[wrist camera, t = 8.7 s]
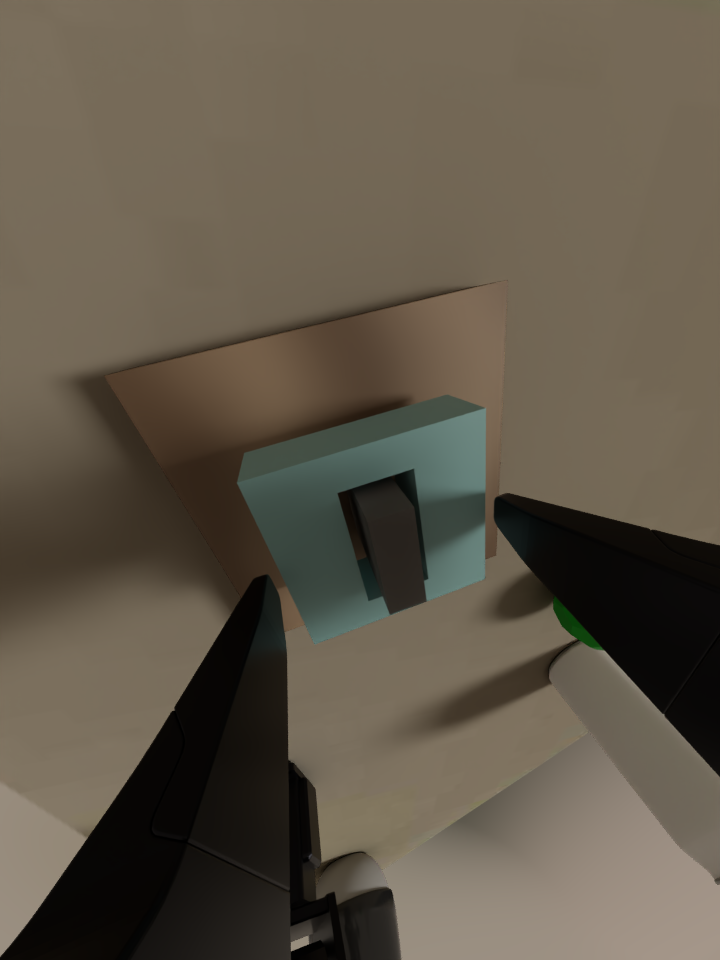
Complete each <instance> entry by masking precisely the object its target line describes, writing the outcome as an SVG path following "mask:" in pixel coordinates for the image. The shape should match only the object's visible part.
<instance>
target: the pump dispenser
mask: <svg viewBox="0 0 720 960" xmlns="http://www.w3.org/2000/svg"><path fill="white" fill-rule="evenodd" d="M333 891H334V892H335V896H336V902H337V908H338V914H339V920H340V926H341V932H342V937H343V943H344V949H345V955H346V960H401V950H400V940H399V932H398V924H397V916H396V909H395V903H394V898H393V893H392V890H391V889H389V888H388V885H387V881H386V878H385V876H384V873H383V871H382V869H381V868H380V866H379V864H378V863H377V862H376V861H375V860H374V859H373V858H372V857H371V856H369V855H367V854H364V853H354V854H351V855H348V856H345V857H343V858H340V859H338V860H336V861H335V862H333V863H332V864H330V865H329V866H328V867H327V868H326V869H325V871H324V872H323V874H322V875H321V877H320V879H319V881H318V883H317V886H316V899H317V900H318V899H320V898H323V897H325V895H326V894H328V893H331V892H333ZM308 936H309V944H311V943H313V934H310V935H308Z"/></svg>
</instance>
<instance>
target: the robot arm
mask: <svg viewBox="0 0 720 960" xmlns="http://www.w3.org/2000/svg"><path fill="white" fill-rule="evenodd" d="M493 517H494V521H495V524H496V525H497V527H498V528H499V529H500V531H501V532H502V533H503V535H504V536H505V537H506V539H507V540H508V541H509V543H510V544H511V545H512V547H513V548H514V550H515V551H516V552H517V554H518V555H519V556H520V558H521V559H522V560H523V561H524V563H525V564H526V565H527V566H528V567H529V568H530V570H531V571H532V572H533V573H534V574H535V575H536V576H537V577H538V578H539V579H540V580H541V582H542V583H543V584H544V585H545V586H546V587H547V588H548V589H549V590H550V591H551V593H552V594H553V595H554V596H555V597H556V598H557V599H558V600H559V601H560V602H561V603H562V605H563V606H564V607H565V608H566V609H567V610H568V611H569V612H570V613H571V614H572V616H573V617H574V618H575V619H576V620H577V621H578V622H579V623H580V624H581V625H582V626H583V628H584V629H585V630H586V631H587V632H588V633H589V634H590V635H591V636H592V637H593V639H594V640H595V641H596V642H597V643H598V644H599V645H600V646H601V647H602V648H603V650H604V651H605V652H606V653H607V654H608V655H609V656H610V657H611V658H612V659H613V660H614V662H615V663H616V664H617V665H618V666H619V667H620V668H621V669H622V670H623V671H624V673H625V674H626V675H627V676H628V677H629V678H630V679H631V680H632V681H633V682H634V683H635V685H636V686H637V687H638V688H639V689H640V690H641V691H642V692H643V693H644V694H645V696H646V697H647V698H648V699H649V700H650V701H651V702H652V703H653V704H654V705H655V706H656V708H657V709H658V710H659V711H660V712H661V713H662V714H664V716H665V718H666V719H667V720H668V721H669V722H670V723H671V724H672V725H673V727H674V728H675V729H676V730H677V731H678V732H679V733H680V734H681V735H682V736H683V737H684V739H685V740H686V741H687V742H688V743H689V744H690V745H691V746H692V747H693V748H694V750H695V751H696V752H697V753H698V754H699V755H700V756H701V757H702V758H703V759H704V760H705V762H706V763H707V764H708V765H709V766H710V767H711V768H712V769H713V770H714V771H715V773H716V774H717V775H718V776H719V777H720V545H716V544H711V543H706V542H702V541H698V540H693V539H689V538H685V537H681V536H677V535H673V534H669V533H665V532H661V531H657V530H650V529H649V528H645V527H641V526H637V525H633V524H629V523H625V522H621V521H617V520H613V519H609V518H605V517H601V516H597V515H593V514H589V513H585V512H582V511H578V510H574V509H570V508H566V507H562V506H558V505H554V504H550V503H546V502H542V501H538V500H534V499H530V498H526V497H522V496H518V495H514V494H510V493H505V494H502V495H499V496H497V497H495V499H494V516H493ZM174 709H175V711H172V712H171V713H170V715H169V717H168V718H167V720H166V721H165V723H164V725H163V726H162V728H161V730H160V731H159V733H158V734H157V736H156V738H155V739H154V741H153V742H152V744H151V745H150V747H149V749H148V750H147V752H146V753H145V755H144V756H143V758H142V760H141V761H140V763H139V764H138V766H137V767H136V769H135V770H134V772H133V773H132V775H131V776H130V777H129V779H128V780H127V782H126V783H125V785H124V786H123V788H122V789H121V791H120V792H119V794H118V795H117V797H116V798H115V800H114V801H113V803H112V804H111V805H110V807H109V808H108V810H107V811H106V813H105V814H104V815H103V817H102V818H101V820H100V821H99V823H98V824H97V825H96V827H95V828H94V830H93V831H92V833H91V834H90V835H89V837H88V838H87V840H86V841H85V843H84V844H83V846H82V847H81V849H80V850H79V851H78V853H77V854H76V856H75V857H74V858H73V860H72V861H71V863H70V864H69V866H68V867H67V869H66V870H65V871H64V873H63V874H62V876H61V877H60V879H59V880H58V881H57V883H56V884H55V886H54V887H53V889H52V890H51V892H50V893H49V894H48V896H47V897H46V899H45V900H44V901H43V903H42V904H41V906H40V907H39V908H38V910H37V911H36V913H35V914H34V915H33V917H32V918H31V919H30V921H29V922H28V924H27V925H26V926H25V927H24V929H23V930H22V931H21V932H20V934H19V935H18V936H17V937H16V939H15V940H14V941H13V942H12V944H11V945H10V946H9V947H8V948H7V950H6V951H5V952H4V953H3V954H2V955H1V957H0V960H346V955H345V949H344V943H343V937H342V932H341V926H340V920H339V914H338V908H337V902H336V896H335V892H334V891H333V892H331V893H328V894H326V895H325V897H323V898H320V899H318V900H317V899H316V885H315V871H314V869H316V868H318V867H319V866H320V864H321V848H320V837H319V825H318V813H317V801H316V790H315V787H314V786H313V785H312V784H311V783H310V781H309V780H308V779H307V778H306V777H305V776H304V774H303V773H302V772H301V771H300V770H299V769H298V767H297V766H296V765H295V764H294V763H288V695H287V649H286V640H285V633H284V625H283V617H282V609H281V601H280V596H279V593H278V591H277V589H276V587H275V585H274V583H273V581H272V579H271V577H270V576H269V575H268V574H264V575H261V576H258V577H255V578H254V579H253V580H252V581H251V583H250V584H249V586H248V588H247V589H246V591H245V593H244V594H243V596H242V598H241V599H240V601H239V602H238V604H237V606H236V607H235V609H234V611H233V612H232V614H231V616H230V617H229V619H228V620H227V622H226V624H225V625H224V627H223V629H222V630H221V632H220V634H219V635H218V637H217V638H216V640H215V642H214V643H213V645H212V647H211V648H210V650H209V651H208V653H207V655H206V656H205V658H204V660H203V661H202V663H201V665H200V666H199V668H198V669H197V671H196V673H195V674H194V676H193V678H192V679H191V681H190V683H189V684H188V686H187V687H186V689H185V691H184V692H183V694H182V696H181V697H180V699H179V700H178V702H177V704H176V705H175V707H174ZM310 934H313V943H311V944H309V945H307V946H304V947H301V948H299V949H296V950H294V951H291V942H292V941H295V940H298V939H300V938H303V937H305V936H308V935H310Z"/></svg>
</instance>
